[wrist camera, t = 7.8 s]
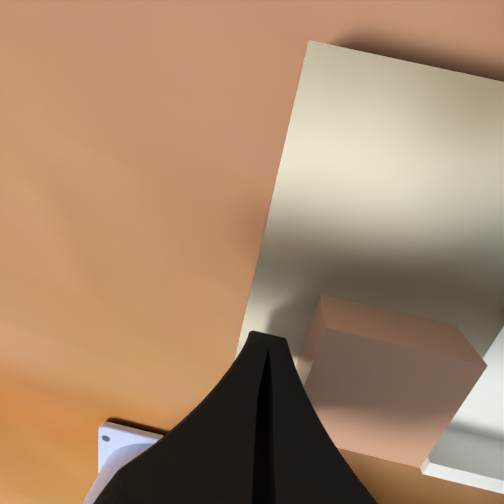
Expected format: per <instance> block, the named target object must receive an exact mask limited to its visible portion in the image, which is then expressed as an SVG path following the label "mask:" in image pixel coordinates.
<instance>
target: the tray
mask: <svg viewBox="0 0 504 504" xmlns="http://www.w3.org/2000/svg"><path fill="white" fill-rule="evenodd" d="M483 360H484V362H485V363H486V364H487V365H488V366H487V368H486V369H485V371H484V372H483V374H482V375H481V377H480V378H479V380H478V381H477V383H476V384H475V386H474V387H473V389H472V390H471V392H470V393H469V395H468V396H467V398H466V399H465V401H464V402H463V404H462V405H461V407H460V408H459V410H458V411H457V413H456V414H455V416H454V417H453V419H452V420H451V422H450V423H449V425H448V426H447V428H446V429H445V431H444V432H443V434H442V435H441V437H440V438H439V440H438V441H437V443H436V444H435V446H434V447H433V449H432V450H431V452H430V453H429V455H428V456H427V458H426V459H425V461H424V462H423V464H422V466H421V467H420V469H421V472H422V474H425V475H429V476H433V477H437V478H441V479H445V480H449V481H453V482H457V483H461V484H465V485H469V486H473V487H477V488H481V489H485V490H489V491H493V492H497V493H501V494H504V326H503V328H502V330H501V331H500V333H499V334H498V336H497V337H496V339H495V340H494V342H493V343H492V345H491V347H490V348H489V350H488V351H487V353H486V354H485V356H484V357H483Z"/></svg>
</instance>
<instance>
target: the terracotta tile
mask: <svg viewBox="0 0 504 504" xmlns="http://www.w3.org/2000/svg"><path fill="white" fill-rule="evenodd" d="M487 366H488V365H487V364H486V363H485V362H484V360H483V359H482V358H481V356H480V355H479V354H478V353H477V351H476V350H475V349H474V348H473V346H472V345H471V344H470V343H469V341H468V340H467V339H466V338H465V336H464V335H463V334H462V333H461V331H460V330H459V329H458V328H457V326H454V325H450V324H446V323H441V322H437V321H433V320H429V319H424V318H420V317H416V316H412V315H407V314H403V313H399V312H395V311H390V310H386V309H382V308H378V307H373V306H369V305H365V304H360V303H356V302H352V301H348V300H343V299H339V298H335V297H331V296H326V295H322V294H320V297H319V299H318V302H317V305H316V308H315V311H314V314H313V317H312V320H311V323H310V326H309V329H308V332H307V335H306V338H305V341H304V344H303V347H302V350H301V353H300V356H299V359H298V361H297V364H296V370H297V372H298V375H299V377H300V379H301V382H302V384H303V387H304V389H305V391H306V393H307V396H308V398H309V400H310V402H311V404H312V406H313V408H314V410H315V412H316V414H317V416H318V417H319V419H320V421H321V423H322V425H323V426H324V428H325V430H326V431H327V433H328V435H329V437H330V438H331V440H332V441H333V443H334V444H335V446H336V448H341V449H345V450H349V451H353V452H357V453H361V454H365V455H369V456H373V457H377V458H381V459H385V460H389V461H393V462H397V463H401V464H405V465H410V466H414V467H418V468H420V467H421V466H422V464H423V462H424V461H425V459H426V458H427V456H428V455H429V453H430V452H431V450H432V449H433V447H434V446H435V444H436V443H437V441H438V440H439V438H440V437H441V435H442V434H443V432H444V431H445V429H446V428H447V426H448V425H449V423H450V422H451V420H452V419H453V417H454V416H455V414H456V413H457V411H458V410H459V408H460V407H461V405H462V404H463V402H464V401H465V399H466V398H467V396H468V395H469V393H470V392H471V390H472V389H473V387H474V386H475V384H476V383H477V381H478V380H479V378H480V377H481V375H482V374H483V372H484V371H485V369H486V368H487Z"/></svg>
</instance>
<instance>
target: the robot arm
mask: <svg viewBox="0 0 504 504" xmlns="http://www.w3.org/2000/svg"><path fill="white" fill-rule="evenodd" d="M83 504H378V503H377V502H376V501H375V500H374V498H373V497H372V496H371V495H370V493H369V492H368V491H367V489H366V488H365V487H364V486H363V484H362V483H361V482H360V481H359V479H358V478H357V476H356V475H355V474H354V472H353V471H352V469H351V468H350V467H349V465H348V464H347V462H346V461H345V459H344V458H343V457H342V455H341V454H340V452H339V451H338V449H337V448H336V446H335V444H334V443H333V441H332V440H331V438H330V437H329V435H328V433H327V431H326V430H325V428H324V426H323V425H322V423H321V421H320V419H319V417H318V416H317V414H316V412H315V410H314V408H313V406H312V404H311V402H310V400H309V398H308V396H307V393H306V391H305V389H304V387H303V384H302V382H301V379H300V377H299V375H298V372H297V370H296V367H295V364H294V361H293V359H292V356H291V352H290V349H289V346H288V342H287V340H286V338H283V337H279V336H275V335H271V334H266V333H262V332H258V331H254V330H252V331H250V332H249V334H248V337H247V340H246V342H245V344H244V346H243V348H242V350H241V352H240V353H239V355H238V356H237V358H236V359H235V361H234V362H233V364H232V366H231V367H230V368H229V370H228V371H227V372H226V374H225V375H224V376H223V377H222V379H221V380H220V381H219V383H218V384H217V385H216V386H215V387H214V389H213V390H212V391H211V392H210V393H209V394H208V395H207V396H206V398H205V399H204V400H203V401H202V402H201V403H200V404H199V405H198V406H197V407H196V408H195V409H194V410H193V411H192V412H191V413H190V414H189V415H188V416H187V417H186V418H184V419H183V420H182V421H181V422H180V423H179V424H178V425H177V426H175V427H174V428H173V429H172V430H171V431H169V432H168V433H167V434H166V435H165V436H164V435H160V434H156V433H152V432H148V431H143V430H139V429H135V428H131V427H127V426H123V425H119V424H115V423H111V422H104V423H102V424H101V426H100V428H99V430H98V476H97V478H96V480H95V481H94V483H93V485H92V487H91V489H90V491H89V493H88V494H87V496H86V498H85V500H84V502H83Z"/></svg>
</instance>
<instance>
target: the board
mask: <svg viewBox="0 0 504 504" xmlns="http://www.w3.org/2000/svg"><path fill="white" fill-rule="evenodd" d="M320 294H322V295H326V296H331V297H335V298H339V299H343V300H348V301H352V302H356V303H360V304H365V305H369V306H373V307H378V308H382V309H386V310H390V311H395V312H399V313H403V314H407V315H412V316H416V317H420V318H424V319H429V320H433V321H437V322H441V323H446V324H450V325H454V326H457V328H458V329H459V330H460V331H461V333H462V334H463V335H464V336H465V338H466V339H467V340H468V341H469V343H470V344H471V345H472V346H473V348H474V349H475V350H476V351H477V353H478V354H479V355H480V356H481V358H482V359H483V357H484V356H485V354H486V353H487V351H488V350H489V348H490V347H491V345H492V343H493V342H494V340H495V339H496V337H497V336H498V334H499V333H500V331H501V330H502V328H503V326H504V82H502V81H497V80H493V79H488V78H483V77H479V76H474V75H470V74H465V73H460V72H456V71H451V70H446V69H442V68H437V67H432V66H428V65H423V64H418V63H414V62H409V61H404V60H400V59H395V58H390V57H386V56H381V55H376V54H372V53H367V52H362V51H358V50H353V49H348V48H344V47H339V46H334V45H330V44H325V43H320V42H316V41H311V40H309V41H308V46H307V50H306V54H305V58H304V63H303V67H302V71H301V76H300V80H299V84H298V89H297V93H296V97H295V102H294V106H293V110H292V114H291V119H290V123H289V127H288V132H287V136H286V140H285V145H284V149H283V153H282V158H281V162H280V166H279V171H278V175H277V179H276V183H275V188H274V192H273V196H272V201H271V205H270V209H269V214H268V218H267V222H266V227H265V231H264V235H263V240H262V244H261V248H260V252H259V257H258V261H257V265H256V270H255V274H254V278H253V283H252V287H251V291H250V296H249V300H248V304H247V308H246V313H245V317H244V321H243V326H242V330H241V334H240V339H239V343H238V347H237V352H236V356H235V359H236V358H237V356H238V355H239V353H240V352H241V350H242V348H243V346H244V344H245V342H246V340H247V337H248V334H249V332H250V331H252V330H254V331H258V332H262V333H266V334H271V335H275V336H279V337H283V338H286V340H287V342H288V346H289V349H290V352H291V356H292V359H293V361H294V364H295V367H296V364H297V361H298V359H299V356H300V353H301V350H302V347H303V344H304V341H305V338H306V335H307V332H308V329H309V326H310V323H311V320H312V317H313V314H314V311H315V308H316V305H317V302H318V299H319V297H320ZM234 361H235V360H234Z"/></svg>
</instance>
